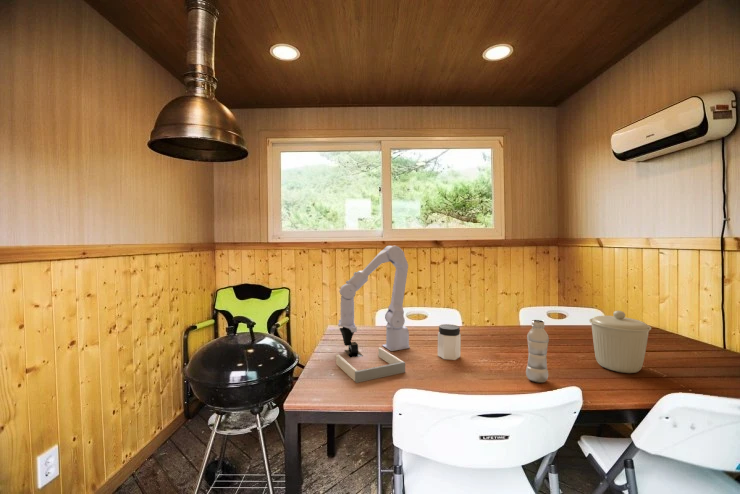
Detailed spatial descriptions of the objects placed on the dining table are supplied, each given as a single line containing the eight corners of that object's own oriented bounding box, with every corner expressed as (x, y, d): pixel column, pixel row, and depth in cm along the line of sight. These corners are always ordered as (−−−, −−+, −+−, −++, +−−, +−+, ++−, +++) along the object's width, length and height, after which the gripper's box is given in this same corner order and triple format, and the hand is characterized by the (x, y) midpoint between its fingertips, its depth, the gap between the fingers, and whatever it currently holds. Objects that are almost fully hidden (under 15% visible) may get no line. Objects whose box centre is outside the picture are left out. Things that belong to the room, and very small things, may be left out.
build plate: (366, 358, 131) (366, 347, 131) (348, 361, 129) (348, 349, 128) (356, 348, 143) (356, 338, 143) (340, 350, 140) (340, 339, 140)
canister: (634, 382, 109) (635, 318, 108) (578, 363, 125) (579, 308, 124) (660, 372, 117) (661, 313, 117) (604, 356, 133) (605, 304, 133)
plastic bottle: (521, 377, 112) (522, 318, 112) (540, 376, 113) (541, 318, 113) (532, 385, 106) (533, 323, 106) (552, 384, 107) (553, 323, 106)
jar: (464, 358, 129) (464, 328, 129) (446, 361, 127) (446, 330, 126) (451, 351, 138) (451, 323, 137) (434, 353, 135) (434, 324, 135)
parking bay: (380, 356, 132) (380, 347, 132) (405, 372, 116) (405, 362, 116) (336, 364, 124) (336, 354, 123) (356, 382, 107) (356, 372, 107)
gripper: (332, 310, 143) (332, 341, 143) (345, 317, 130) (345, 351, 130) (347, 308, 146) (347, 339, 146) (361, 315, 133) (361, 349, 133)
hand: (347, 345), depth 138 cm, fingers closed
